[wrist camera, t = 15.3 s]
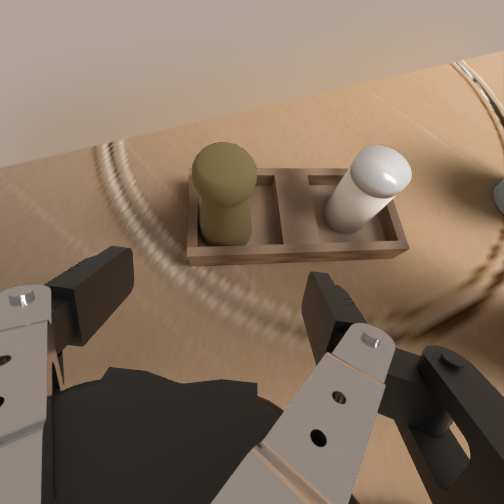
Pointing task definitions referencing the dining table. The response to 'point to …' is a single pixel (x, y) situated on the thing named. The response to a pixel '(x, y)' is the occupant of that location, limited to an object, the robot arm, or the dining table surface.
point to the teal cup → (499, 196)
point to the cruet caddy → (296, 224)
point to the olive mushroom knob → (224, 193)
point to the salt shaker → (366, 188)
